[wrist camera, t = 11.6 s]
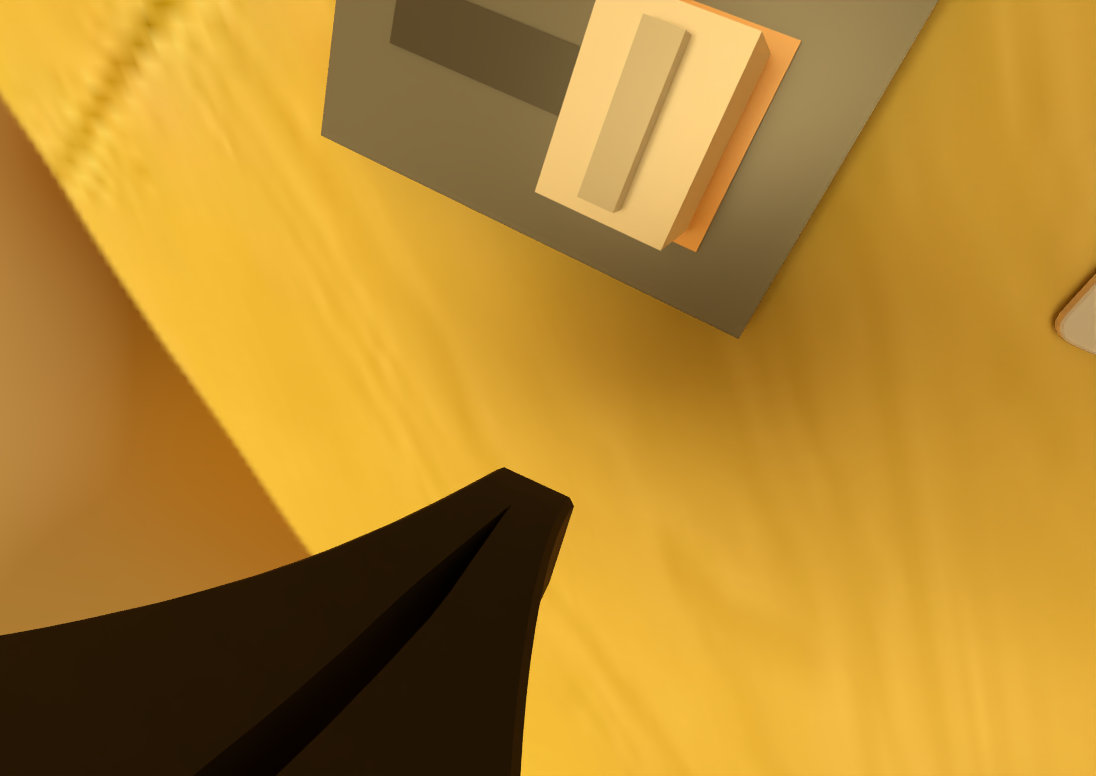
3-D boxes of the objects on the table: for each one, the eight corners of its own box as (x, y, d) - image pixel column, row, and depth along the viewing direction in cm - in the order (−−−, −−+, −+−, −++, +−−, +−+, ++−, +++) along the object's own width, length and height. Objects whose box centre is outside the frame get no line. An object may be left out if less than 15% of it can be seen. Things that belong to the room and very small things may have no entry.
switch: (771, 53, 12) (759, 26, 9) (686, 230, 14) (654, 255, 11) (645, 6, 12) (594, -36, 9) (581, 182, 14) (523, 193, 11)
